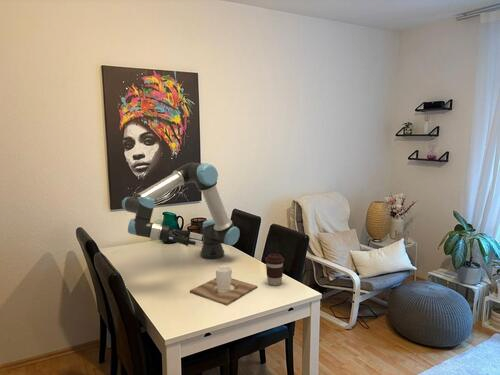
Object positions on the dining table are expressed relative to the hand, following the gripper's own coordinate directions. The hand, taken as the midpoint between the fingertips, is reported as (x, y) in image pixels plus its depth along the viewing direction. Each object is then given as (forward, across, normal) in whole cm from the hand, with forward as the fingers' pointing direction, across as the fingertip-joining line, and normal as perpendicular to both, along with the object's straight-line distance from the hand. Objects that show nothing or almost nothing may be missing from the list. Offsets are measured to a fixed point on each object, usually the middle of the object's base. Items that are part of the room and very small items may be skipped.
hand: (202, 240), depth 189 cm
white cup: (+16, +7, -20) cm, 26 cm away
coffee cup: (+42, +2, -14) cm, 44 cm away
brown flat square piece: (+16, +7, -21) cm, 27 cm away
